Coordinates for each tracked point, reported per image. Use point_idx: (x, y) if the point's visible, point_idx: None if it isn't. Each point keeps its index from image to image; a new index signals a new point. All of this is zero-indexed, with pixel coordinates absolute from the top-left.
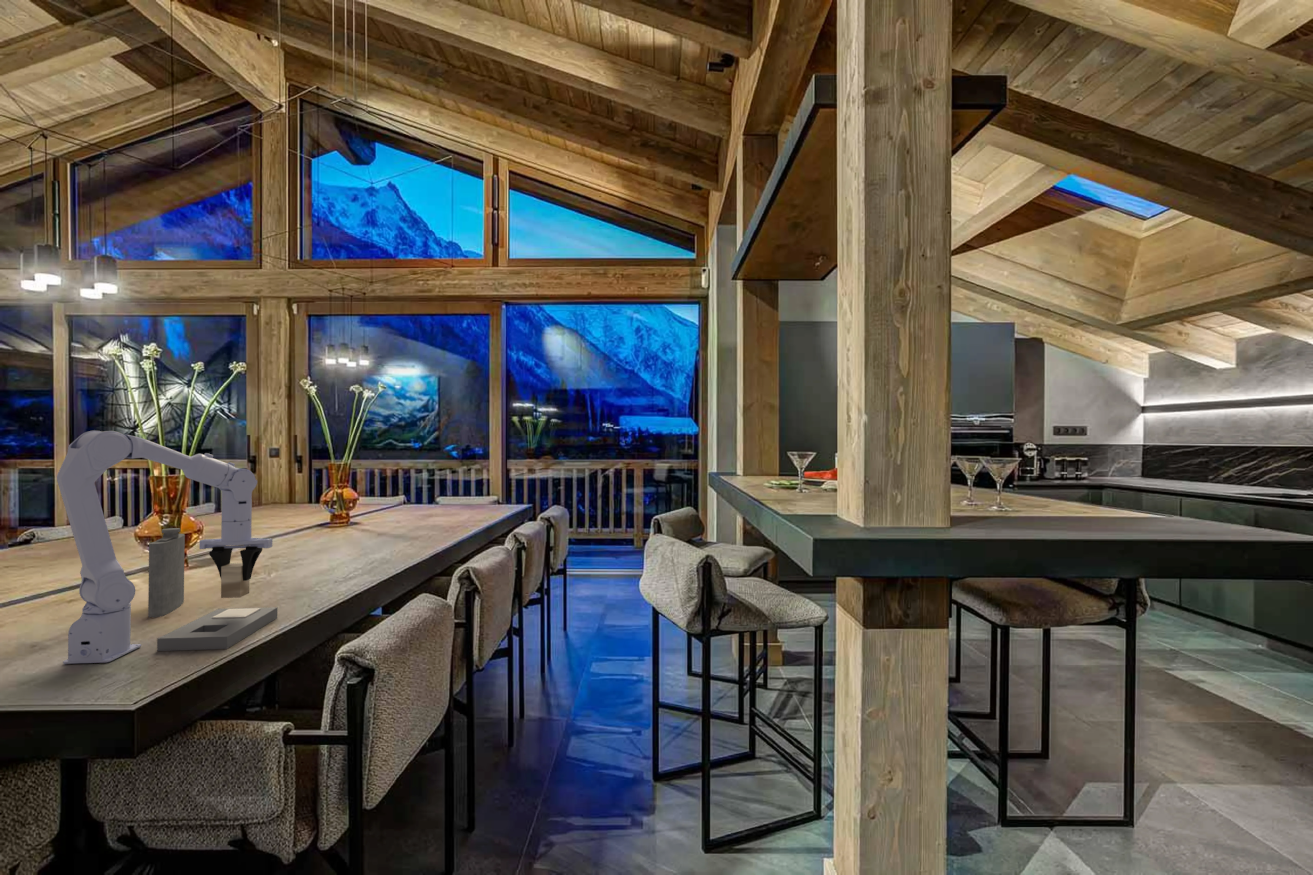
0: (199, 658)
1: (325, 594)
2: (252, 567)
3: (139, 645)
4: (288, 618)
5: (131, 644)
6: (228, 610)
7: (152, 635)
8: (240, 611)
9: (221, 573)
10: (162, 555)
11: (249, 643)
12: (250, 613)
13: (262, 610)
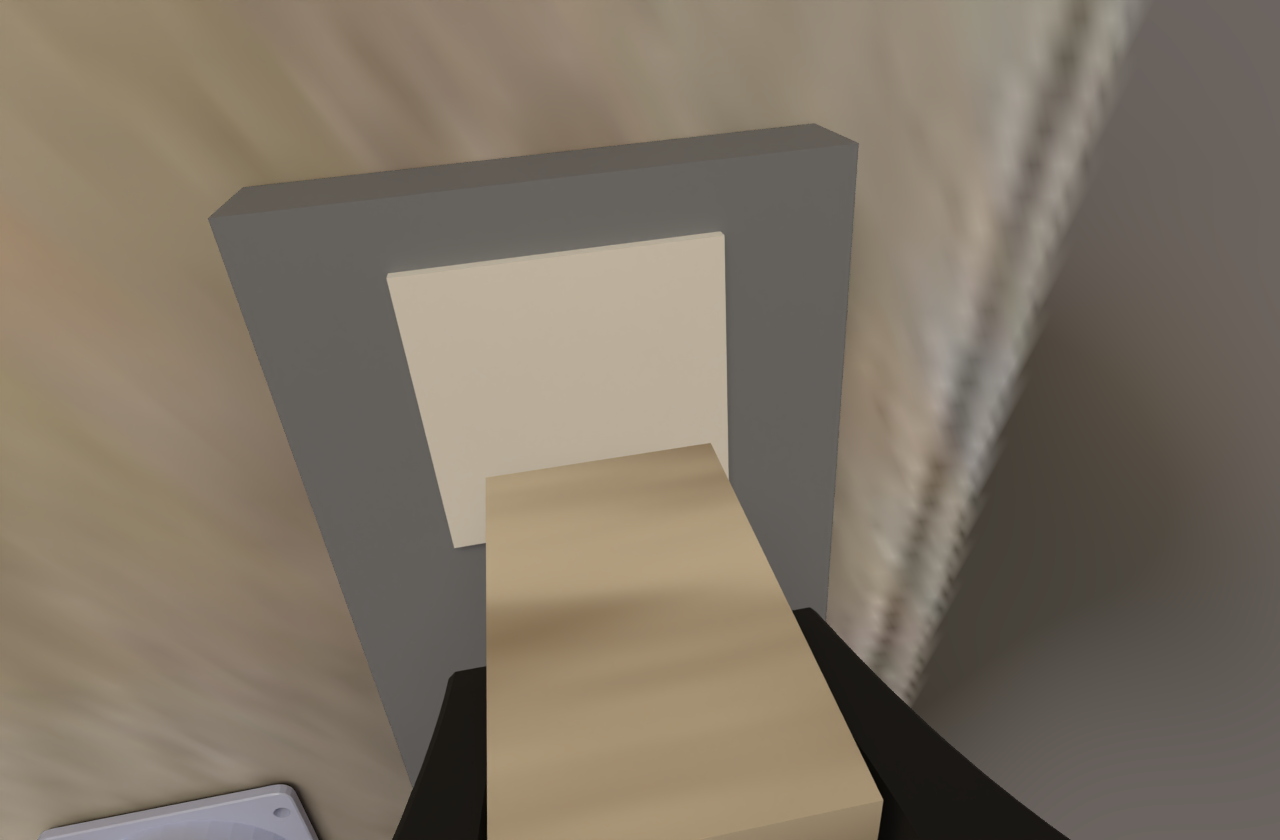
0: None
1: None
2: (915, 741)
3: (297, 807)
4: (920, 139)
5: (228, 806)
6: (433, 337)
7: (106, 622)
8: (586, 364)
9: None
10: None
11: (863, 658)
12: (720, 417)
13: (755, 269)
